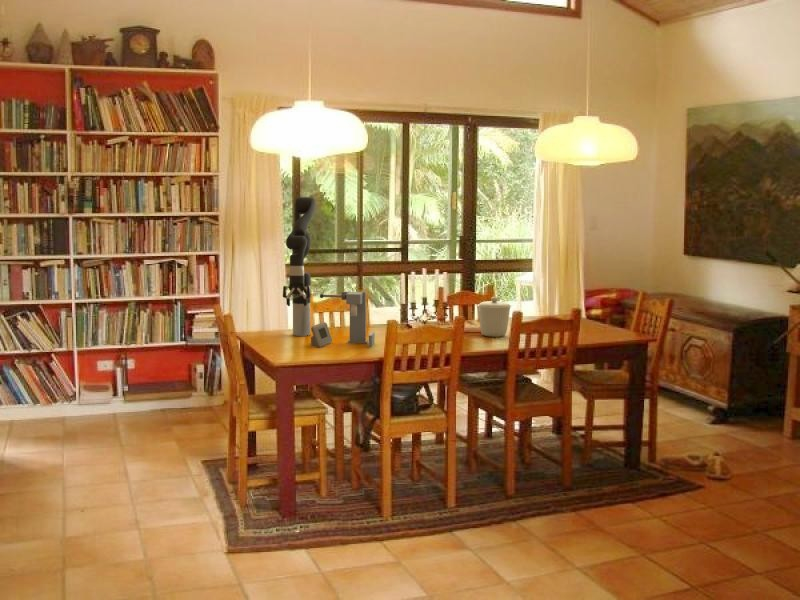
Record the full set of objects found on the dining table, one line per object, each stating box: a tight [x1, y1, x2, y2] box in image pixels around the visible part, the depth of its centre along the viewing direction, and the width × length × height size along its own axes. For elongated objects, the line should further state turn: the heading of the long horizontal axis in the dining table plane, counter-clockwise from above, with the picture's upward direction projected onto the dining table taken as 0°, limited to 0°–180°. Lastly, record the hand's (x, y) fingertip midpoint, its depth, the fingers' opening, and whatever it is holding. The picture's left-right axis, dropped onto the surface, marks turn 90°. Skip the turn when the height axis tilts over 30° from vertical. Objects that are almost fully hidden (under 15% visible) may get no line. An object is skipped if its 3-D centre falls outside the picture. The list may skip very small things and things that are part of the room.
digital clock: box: [310, 321, 333, 348], centre depth 431 cm, size 16×9×11 cm, turn 151°
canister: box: [477, 296, 512, 338], centre depth 463 cm, size 18×18×21 cm
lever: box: [319, 293, 346, 299], centre depth 434 cm, size 2×14×2 cm, turn 85°
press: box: [341, 291, 376, 348], centre depth 431 cm, size 14×17×26 cm
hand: (296, 306), depth 445 cm, fingers open, 8 cm apart
